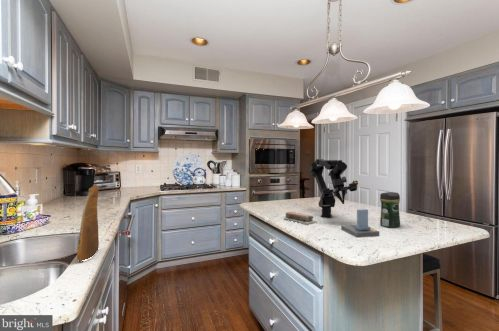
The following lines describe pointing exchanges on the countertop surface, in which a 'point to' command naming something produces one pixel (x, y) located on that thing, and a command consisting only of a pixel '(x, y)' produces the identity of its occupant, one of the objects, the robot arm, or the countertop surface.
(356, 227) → the switch lever
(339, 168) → the robot arm
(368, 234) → the switch box
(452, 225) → the countertop surface
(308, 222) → the packaged product
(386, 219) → the coffee jar
